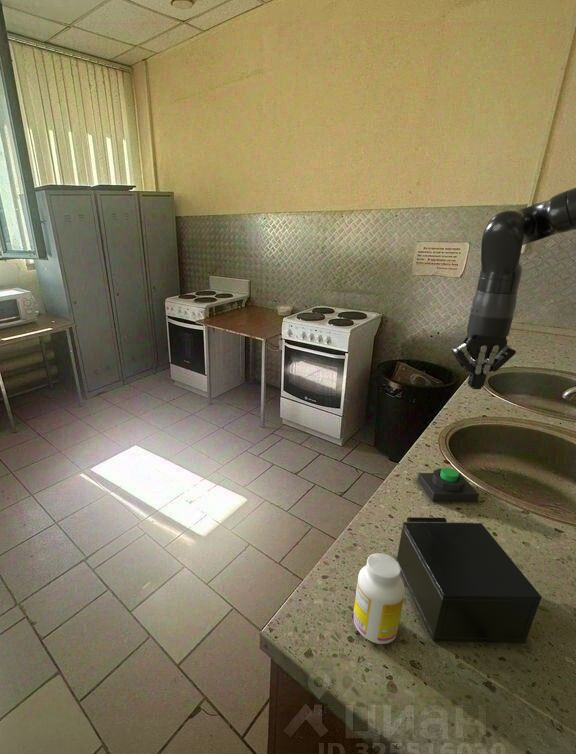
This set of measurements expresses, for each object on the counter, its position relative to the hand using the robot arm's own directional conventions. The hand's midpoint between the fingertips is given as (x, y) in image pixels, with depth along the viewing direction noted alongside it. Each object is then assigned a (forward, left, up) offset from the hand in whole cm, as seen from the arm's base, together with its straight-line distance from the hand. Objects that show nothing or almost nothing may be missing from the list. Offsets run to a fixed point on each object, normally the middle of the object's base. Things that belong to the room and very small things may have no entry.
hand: (474, 387), depth 89 cm
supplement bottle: (+32, +38, -25) cm, 56 cm away
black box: (+17, +33, -25) cm, 45 cm away
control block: (+4, +4, -25) cm, 26 cm away
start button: (+4, +4, -21) cm, 22 cm away
